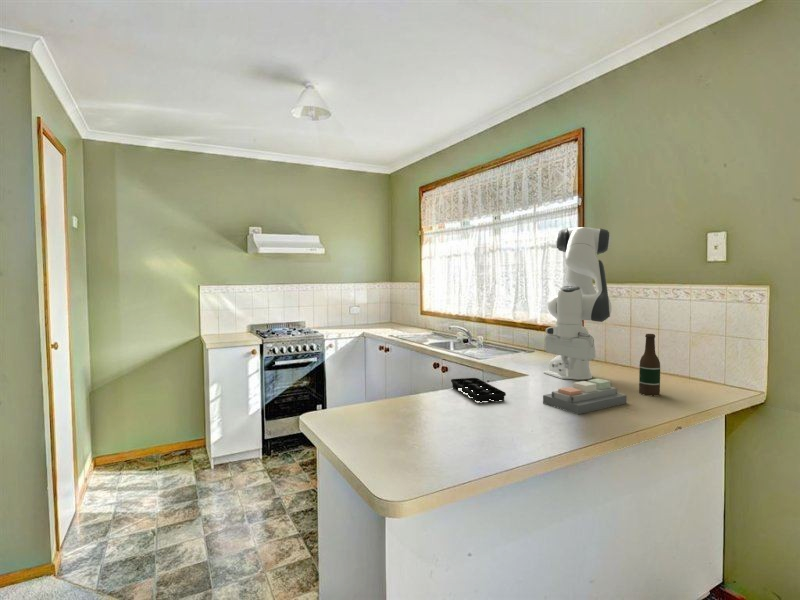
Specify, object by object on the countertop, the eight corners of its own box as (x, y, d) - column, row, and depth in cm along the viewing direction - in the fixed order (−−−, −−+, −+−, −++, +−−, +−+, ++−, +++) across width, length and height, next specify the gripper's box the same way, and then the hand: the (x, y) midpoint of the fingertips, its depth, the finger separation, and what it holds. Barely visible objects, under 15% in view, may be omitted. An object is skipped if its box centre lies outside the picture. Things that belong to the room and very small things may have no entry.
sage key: (587, 387, 173) (587, 380, 172) (597, 386, 175) (597, 378, 175) (600, 391, 168) (600, 383, 168) (610, 389, 170) (610, 381, 170)
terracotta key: (558, 396, 165) (558, 388, 165) (568, 394, 168) (568, 386, 168) (570, 400, 160) (570, 392, 160) (581, 398, 163) (581, 390, 163)
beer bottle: (655, 391, 184) (656, 332, 182) (664, 396, 176) (665, 335, 175) (635, 391, 184) (635, 332, 183) (643, 396, 177) (644, 335, 175)
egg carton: (472, 384, 201) (472, 376, 201) (518, 400, 174) (518, 390, 174) (439, 389, 193) (439, 380, 193) (481, 406, 167) (481, 396, 166)
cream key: (573, 390, 169) (573, 382, 169) (583, 388, 171) (583, 380, 171) (585, 393, 164) (585, 385, 164) (596, 391, 167) (596, 383, 166)
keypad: (543, 403, 169) (543, 389, 168) (590, 393, 181) (590, 381, 181) (578, 414, 155) (578, 399, 154) (626, 403, 167) (626, 390, 167)
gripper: (599, 333, 155) (599, 373, 156) (554, 327, 173) (553, 362, 174) (587, 335, 152) (586, 375, 153) (542, 328, 170) (541, 364, 171)
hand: (568, 368), depth 164 cm, fingers closed
